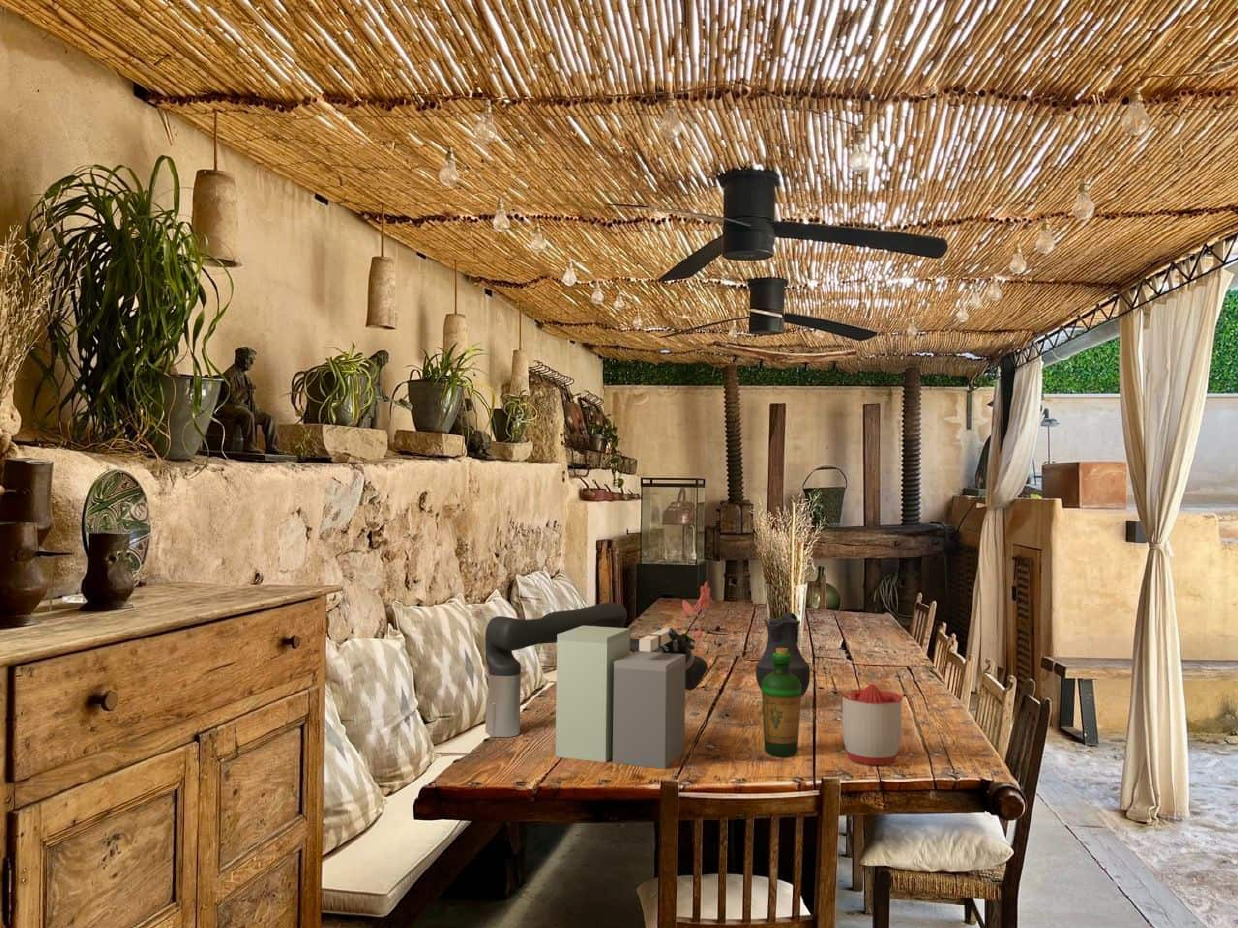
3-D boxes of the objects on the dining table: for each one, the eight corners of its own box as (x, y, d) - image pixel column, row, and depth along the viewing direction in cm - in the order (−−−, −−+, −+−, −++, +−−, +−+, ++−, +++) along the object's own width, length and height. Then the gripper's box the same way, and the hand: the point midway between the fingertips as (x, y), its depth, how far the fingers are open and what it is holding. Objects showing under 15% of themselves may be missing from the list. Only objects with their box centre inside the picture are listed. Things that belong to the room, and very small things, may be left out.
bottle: (770, 759, 255) (771, 652, 256) (754, 749, 265) (755, 646, 266) (807, 757, 258) (808, 651, 259) (790, 746, 268) (791, 644, 269)
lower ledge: (635, 745, 267) (636, 650, 268) (684, 751, 262) (685, 654, 263) (612, 762, 250) (614, 661, 251) (664, 768, 246) (666, 665, 246)
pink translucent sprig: (675, 676, 366) (678, 583, 367) (696, 665, 390) (699, 578, 390) (714, 681, 360) (717, 586, 361) (733, 669, 384) (736, 580, 385)
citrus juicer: (851, 747, 268) (851, 674, 269) (911, 759, 257) (912, 683, 258) (824, 759, 256) (825, 683, 257) (887, 772, 245) (887, 692, 246)
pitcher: (748, 709, 314) (749, 615, 314) (769, 697, 332) (770, 609, 333) (800, 715, 305) (801, 619, 306) (819, 703, 324) (820, 612, 325)
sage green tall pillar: (581, 740, 273) (582, 625, 273) (628, 745, 268) (629, 628, 269) (555, 756, 256) (557, 634, 256) (605, 762, 251) (607, 637, 252)
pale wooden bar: (664, 638, 274) (664, 627, 274) (674, 639, 273) (674, 628, 273) (639, 650, 253) (639, 639, 253) (650, 651, 252) (650, 639, 252)
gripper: (657, 639, 287) (642, 616, 273) (704, 642, 282) (690, 619, 268) (653, 663, 283) (637, 641, 269) (700, 667, 278) (686, 645, 264)
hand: (664, 630), depth 268 cm, fingers closed on pale wooden bar, 3 cm apart
